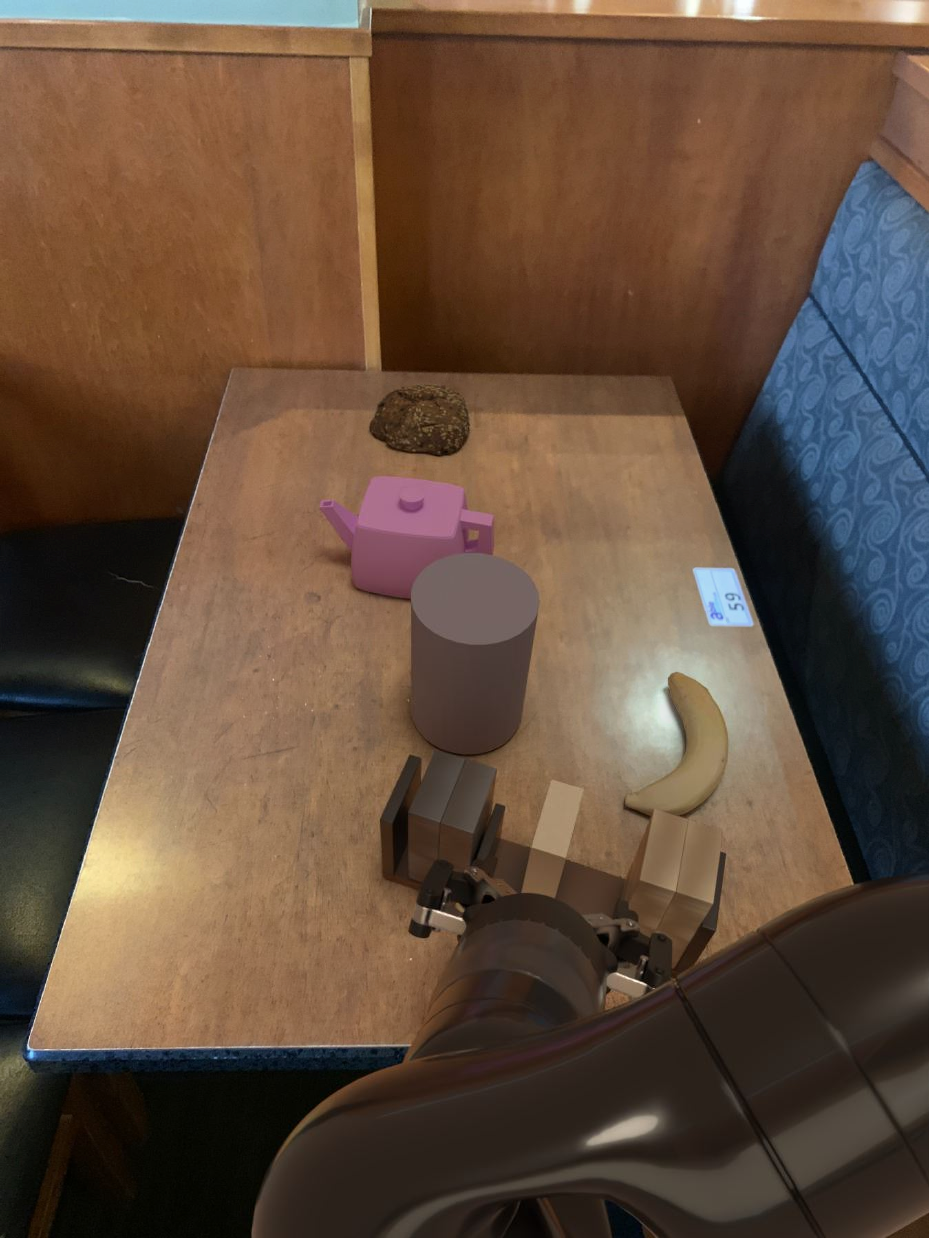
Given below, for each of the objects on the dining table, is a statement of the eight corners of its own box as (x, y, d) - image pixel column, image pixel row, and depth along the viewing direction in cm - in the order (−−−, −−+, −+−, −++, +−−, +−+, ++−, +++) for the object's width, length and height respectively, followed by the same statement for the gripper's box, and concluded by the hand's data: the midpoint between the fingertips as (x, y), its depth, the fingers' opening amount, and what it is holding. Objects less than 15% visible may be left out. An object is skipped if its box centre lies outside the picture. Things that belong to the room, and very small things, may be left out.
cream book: (563, 862, 67) (584, 788, 59) (546, 927, 64) (566, 858, 56) (534, 853, 68) (551, 778, 60) (516, 917, 64) (531, 846, 56)
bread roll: (471, 403, 114) (473, 370, 110) (467, 459, 105) (469, 424, 101) (376, 397, 113) (375, 364, 110) (364, 452, 105) (363, 418, 101)
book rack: (695, 907, 66) (738, 831, 58) (684, 981, 62) (728, 911, 54) (409, 814, 71) (409, 730, 62) (382, 877, 67) (378, 797, 58)
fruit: (739, 710, 80) (749, 688, 78) (703, 840, 70) (713, 820, 68) (665, 684, 82) (673, 662, 79) (620, 808, 72) (627, 787, 70)
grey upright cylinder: (404, 751, 75) (403, 638, 64) (417, 662, 82) (418, 548, 71) (520, 761, 75) (539, 650, 64) (523, 671, 82) (540, 558, 71)
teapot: (313, 590, 88) (305, 514, 81) (337, 525, 95) (331, 450, 88) (485, 612, 87) (492, 537, 80) (496, 545, 94) (503, 470, 87)
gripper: (701, 981, 37) (679, 871, 52) (394, 875, 39) (462, 801, 55) (653, 1143, 37) (646, 985, 53) (353, 1027, 40) (432, 910, 56)
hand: (552, 891), depth 54 cm, fingers open, 8 cm apart
